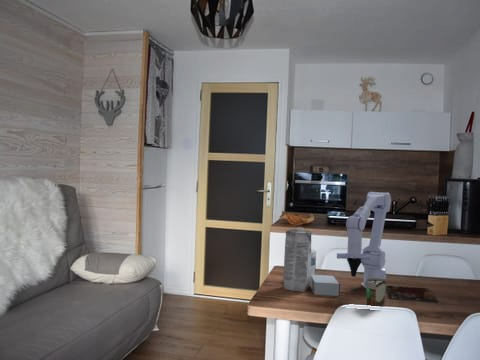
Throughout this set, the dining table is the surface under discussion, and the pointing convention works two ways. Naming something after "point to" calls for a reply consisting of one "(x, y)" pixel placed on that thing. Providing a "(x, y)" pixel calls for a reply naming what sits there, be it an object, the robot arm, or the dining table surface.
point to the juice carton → (297, 260)
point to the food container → (375, 291)
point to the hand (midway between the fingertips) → (353, 275)
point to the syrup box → (313, 263)
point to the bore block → (325, 285)
